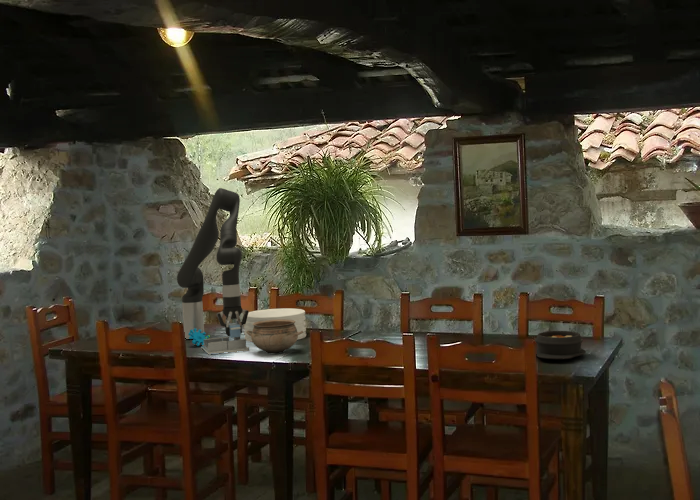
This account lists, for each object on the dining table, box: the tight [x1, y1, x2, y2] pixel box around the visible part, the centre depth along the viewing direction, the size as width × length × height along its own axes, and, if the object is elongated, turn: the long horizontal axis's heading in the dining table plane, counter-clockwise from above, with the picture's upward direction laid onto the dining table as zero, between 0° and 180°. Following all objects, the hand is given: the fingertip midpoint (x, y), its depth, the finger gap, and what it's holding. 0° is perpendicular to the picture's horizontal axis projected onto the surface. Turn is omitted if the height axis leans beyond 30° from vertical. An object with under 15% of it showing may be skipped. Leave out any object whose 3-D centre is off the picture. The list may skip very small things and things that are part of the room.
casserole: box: [534, 330, 587, 361], centre depth 280 cm, size 25×19×8 cm
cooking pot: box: [247, 319, 303, 355], centre depth 315 cm, size 25×19×12 cm
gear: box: [188, 328, 211, 347], centre depth 340 cm, size 11×6×10 cm
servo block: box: [228, 322, 242, 339], centre depth 327 cm, size 11×4×5 cm, turn 22°
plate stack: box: [243, 307, 307, 343], centre depth 352 cm, size 28×28×12 cm
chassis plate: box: [200, 336, 250, 355], centre depth 325 cm, size 16×17×5 cm
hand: (233, 335), depth 327 cm, fingers closed on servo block, 4 cm apart
